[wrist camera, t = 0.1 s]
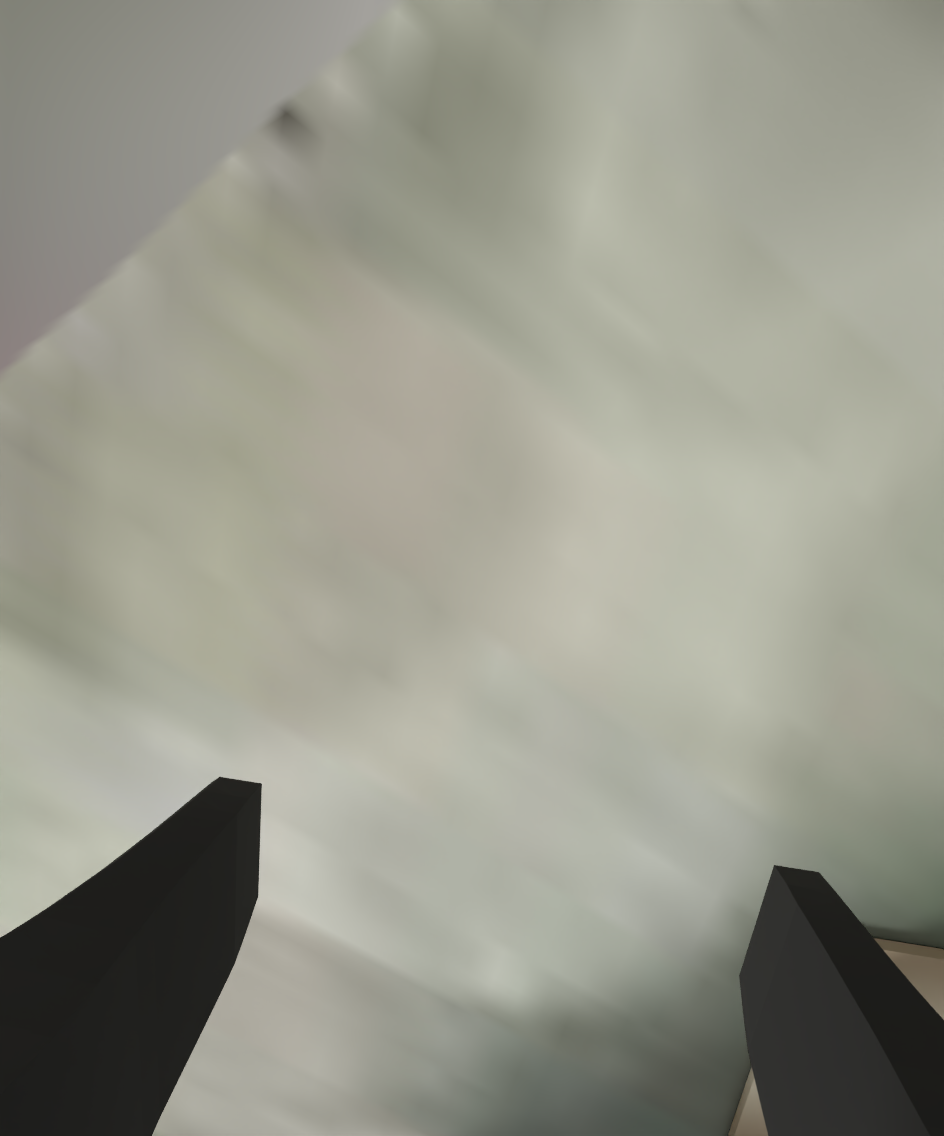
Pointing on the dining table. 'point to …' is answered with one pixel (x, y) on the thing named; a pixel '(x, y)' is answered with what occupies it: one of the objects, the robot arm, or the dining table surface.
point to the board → (926, 968)
